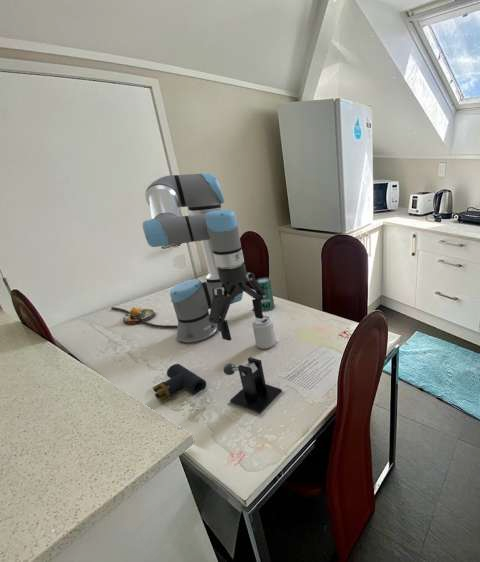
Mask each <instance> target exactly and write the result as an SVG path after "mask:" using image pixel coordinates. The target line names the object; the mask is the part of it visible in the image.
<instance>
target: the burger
mask: <svg viewBox="0 0 480 562" xmlns="http://www.w3.org/2000/svg"><path fill="white" fill-rule="evenodd" d="M129 310H130V311H129V312H130V314H128V313H126V315H125V316H124V317H123V318H122V319H123V323H124V324H128V325H133V324H134V325H136V324H141V323H142V322H140V321H141V320H143V321H145V322H148V321H149V320H150V319H152V318H153V317H155V311H154V309H150V308H143V309H142V308H141V307H139V306H135V307H134V306H133V307H132V308H131V309H129ZM137 318H140V320H137Z"/></svg>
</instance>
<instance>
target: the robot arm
mask: <svg viewBox="0 0 480 562" xmlns="http://www.w3.org/2000/svg"><path fill="white" fill-rule="evenodd" d="M144 196H145V201H146V203H147V205H148V206H149V208H150V215H151V219H147V220H146V219H145V220H143V221H142V223H141V225H142V226H141V227H142V230H143V234H144V237H145V240H146V243H147V244H148V246H149V247H151V248H158V247H159V248H160V247H169V246H175V245H181V244H187V243H194V242H201V246H202V250H203V255H204V258H205V263H206V267H207V270H208V274H207V275H206V276H205V279H206V281H203V282H202V281H201V279H198V278H192V279H187V280H184V281H181V282H179V283H177V284H176V285H174V286H173V287H172V288H171V289H170V291H169V295H170V301H171V303H172V305H173V309H174V312H175V315H176V319H177V325H170V324H169V325H166V324H165V325H164V324H155V323H151V322H148V321H143V320H141V321H140V322H141V323H142V324H145V325H147V326H151V327H155V328H163V329H165V328H166V329H171V328H172V329H173V328H174V329H175V328H176V329H177V331H176V337H177V340H178V342H181V343H182V344H195V343H200V342H203V341H206V340H208V339H210V338H211V337H213V336H215V334H216V333H217V332H220V334H221V338H222V340H224V341H225V340H226V341H231V340H232V336H231V335H232V334H231V332H230V327H229V323H228V320H226V317H227V314H228V312H229V309H230V306H231V305H233V304H236V303H239V302H240V301H242V299H243V296H244V293H245V294H247V295H249V296H250V297H251V298H253V299H252V300H251V301H252V307H253V313H254V318H260V319H262V318H263V316H264V314H263V310H262V301H261V300H263V299H264V297H262V296H264V295H265V292H264V290H263V289H262V287H261V286H260V285H259V283H258V282H257V280H258V279H256V276H255V274H254V273H253V272H248V271H247V269H246V264H245V258H244V253H243V248H242V244H241V239H240V231H239V226H238V225H239V222H238V220H237V216H236V213H235V211H234V210H232V209H222V205H223V204H224V203H225V198H224V195H223V191H222V189H221V186H220V183H219V181H218V179H217V177H216V176H215V175H214V174H212V173H201V172H199V173H189V174H169V175H165V176H161V177H159V178H157V179H156V180H153V181H152V182H151V183H150V184H149V185H148V186H147V188H146V190H145V195H144ZM221 204H222V205H221ZM186 207H187V209H188V212H189V213H190V215H182V216H181V214H180V211H179V208H186ZM191 214H192V215H191ZM247 283H248V284H249V285H250V286H251V287H250V286H249V285H247ZM110 309H111V310H114V311H115V310H116V311H120V312H123V313H126V314H130V311H129V310H126V309H124V308H121V307H120V308H119V307H114V306H111V307H110ZM209 310H210V311H209ZM137 320H140V318H137Z"/></svg>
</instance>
